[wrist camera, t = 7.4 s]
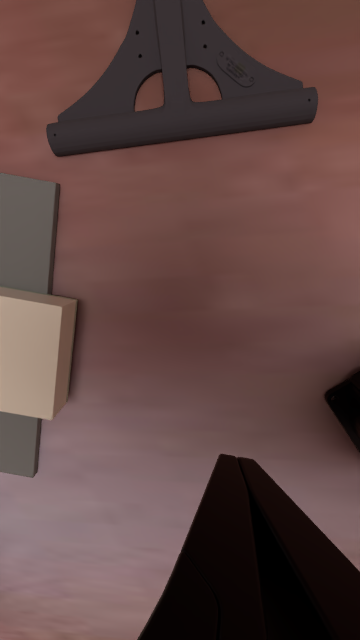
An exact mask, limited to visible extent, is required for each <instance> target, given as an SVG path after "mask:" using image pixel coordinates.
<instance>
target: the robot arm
mask: <svg viewBox="0 0 360 640" xmlns="http://www.w3.org/2000/svg"><path fill="white" fill-rule="evenodd" d="M333 396H336V398H335V399H334V400H331V398H332V397H333ZM325 400H326V402H327V404H328V405H329V407H330V408H331V410H332V411H333V413H334V414H335V416H336V417H337V419H338V420H339V422H340V423H341V425H342V426H343V428H344V429H345V431H346V433H347V434H348V436H349V437H350V439H351V440H352V442H353V443H354V445H355V446H356V448H357V449H358V451H359V452H360V372H358V373H356V374H354V375H353V376H352V377H351V378H350V379H348V380H346V381H345V382H343V383H341V384H339V385H338V386H336V387H334V388H332V389H331V390H329V391H328V392H326V394H325ZM137 640H360V571H359V570H358V569H357V568H356V567H355V566H354V565H353V564H352V563H351V562H350V561H349V560H348V559H347V558H346V557H345V556H344V554H343V553H342V552H341V551H340V550H339V549H338V548H337V547H336V546H335V545H334V544H333V543H332V542H331V541H330V540H329V539H328V538H327V536H326V535H325V534H324V533H323V532H322V531H321V530H320V529H319V528H318V527H317V526H316V525H315V524H314V523H313V522H312V521H311V520H310V518H309V517H308V516H307V515H306V514H305V513H304V512H303V511H302V510H301V509H300V508H299V507H298V506H297V505H296V504H295V503H294V502H293V501H292V499H291V498H290V497H289V496H288V495H287V494H286V493H285V492H284V491H283V490H282V489H281V488H280V487H279V486H278V485H277V484H276V483H275V481H274V480H273V479H272V478H271V477H270V476H269V475H268V474H267V473H266V472H265V471H264V470H263V469H262V468H261V467H260V466H259V465H258V464H257V462H256V461H254V460H253V459H249V458H243V457H238V458H236V457H235V456H232V455H226V454H220V455H219V457H218V459H217V462H216V464H215V467H214V469H213V472H212V474H211V477H210V479H209V482H208V484H207V487H206V489H205V492H204V494H203V497H202V500H201V502H200V505H199V507H198V510H197V512H196V515H195V517H194V520H193V522H192V525H191V527H190V530H189V532H188V535H187V537H186V540H185V542H184V545H183V547H182V550H181V553H180V554H179V556H178V559H177V561H176V564H175V566H174V569H173V571H172V574H171V576H170V578H169V580H168V582H167V585H166V587H165V589H164V591H163V594H162V596H161V597H160V599H159V601H158V603H157V605H156V607H155V609H154V610H153V612H152V614H151V616H150V618H149V620H148V622H147V623H146V625H145V627H144V629H143V631H142V632H141V634H140V636H139V637H138V639H137Z"/></svg>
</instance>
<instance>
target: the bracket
mask: <svg viewBox="0 0 360 640" xmlns="http://www.w3.org/2000/svg"><path fill="white" fill-rule="evenodd" d="M202 24H204V25H202ZM137 34H138V35H137ZM204 48H206V49H204ZM140 57H142V58H140ZM186 68H197V69H200V70H203V71H204V72H206V73H208V74H209V75H210V76H211V77H212V78H213V79H214V80H215V82H216V83H217V85H218V88H219V90H220V93H221V96H222V100H216V101H208V102H193V101H192V100H191V98H190V94H189V88H188V79H187V70H186ZM158 72H162V73H163V83H164V105H163V106H162V107H159V108H155V109H150V110H144V111H137V112H134V106H135V99H136V95H137V92H138V90H139V88H140V87H141V85H142V84H143V82H144V81H145V80H146V79H147V78H149V77H150V76H151V75H153V74H155V73H158ZM317 105H318V94H317V90H316V88H315V87H311V88H303V83H302V82H301V81H299V80H297V79H294V78H291V77H289V76H286V75H283V74H281V73H279V72H276V71H274V70H272V69H270V68H268V67H266V66H265V65H263V64H261V63H260V62H258V61H256V60H255V59H253V58H252V57H251V56H249V55H248V54H247V53H245V52H244V51H243V50H242V49H240V48H239V47H238V46H237V45H236V44H235V43H234V42H233V41H232V40H231V39H230V38H229V37H228V36H227V35H226V34H225V33H224V32H223V31H222V30H221V28H220V27H219V26H218V25H217V24H216V23H215V21H214V20H213V18H212V17H211V15H210V13H209V11H208V9H207V8H206V6H205V4H204V2H203V0H136V5H135V9H134V12H133V16H132V19H131V22H130V26H129V29H128V32H127V35H126V37H125V39H124V41H123V43H122V45H121V46H120V48H119V50H118V52H117V54H116V55H115V57H114V59H113V60H112V62H111V64H110V65H109V67H108V68H107V70H106V71H105V72H104V74H103V75H102V76H101V78H100V79H99V80H98V81H97V82H96V83H95V85H94V86H93V87H92V88H91V89H90V90H89V91H88V92H87V93H86V94H85V95H84V96H83V97H81V98H80V99H79V100H78V101H77V102H75V103H74V104H73V105H72V106H70V107H69V108H68V109H66V110H65V111H64V112H62V113H61V114H60V115H58V123H52V124H48V125H47V128H46V130H47V138H48V142H49V145H50V147H51V149H52V151H53V153H54V154H55V155H56V156H65V155H72V154H80V153H87V152H95V151H102V150H110V149H118V148H125V147H133V146H140V145H148V144H155V143H163V142H170V141H178V140H185V139H193V138H200V137H208V136H215V135H223V134H230V133H238V132H246V131H253V130H261V129H268V128H276V127H283V126H291V125H298V124H306V123H311V122H312V121H313V120H314V118H315V115H316V111H317Z"/></svg>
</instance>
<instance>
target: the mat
mask: <svg viewBox="0 0 360 640" xmlns="http://www.w3.org/2000/svg"><path fill="white" fill-rule="evenodd" d="M59 191H60V185H59V184H57V183H54V182H48V181H43V180H37V179H32V178H26V177H20V176H15V175H9V174H4V173H0V286H5V287H11V288H16V289H22V290H27V291H33V292H38V293H44V294H50V295H51V291H52V279H53V266H54V254H55V241H56V229H57V216H58V204H59ZM40 429H41V418H36V417H30V416H25V415H19V414H14V413H8V412H2V411H0V472H3V473H9V474H15V475H20V476H26V477H31V478H33V477H34V476H35V474H36V473H37V466H38V454H39V441H40Z"/></svg>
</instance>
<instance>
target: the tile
mask: <svg viewBox="0 0 360 640" xmlns="http://www.w3.org/2000/svg"><path fill="white" fill-rule="evenodd" d="M77 301H78V300H77V299H72V298H66V297H61V296H55V295H50V294H44V293H38V292H33V291H27V290H22V289H16V288H11V287H5V286H0V411H2V412H8V413H14V414H19V415H25V416H30V417H36V418H42V419H47V420H53V419H54V417H55V416H56V415H57V414H58V412H59V411H60V410H61V409H62V407H63V406H64V405H65V404H66V402H67V401H68V391H69V381H70V371H71V361H72V351H73V341H74V331H75V321H76V311H77Z"/></svg>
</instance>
